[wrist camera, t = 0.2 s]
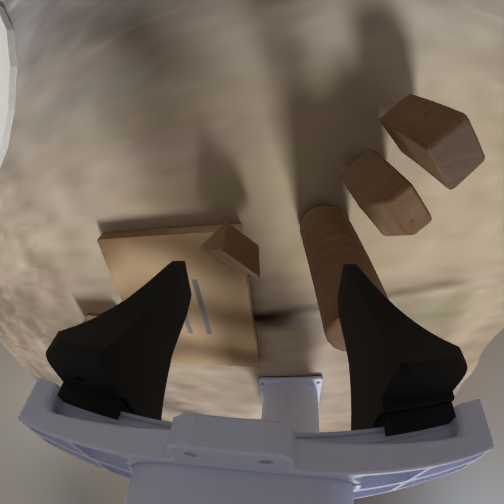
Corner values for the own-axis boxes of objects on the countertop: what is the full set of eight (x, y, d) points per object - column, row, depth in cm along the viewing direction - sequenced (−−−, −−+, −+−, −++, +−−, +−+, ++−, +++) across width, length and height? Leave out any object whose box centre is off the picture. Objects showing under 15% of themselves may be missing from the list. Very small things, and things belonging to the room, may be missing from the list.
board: (259, 357, 32) (258, 366, 31) (155, 352, 34) (152, 360, 33) (241, 223, 23) (239, 230, 22) (103, 233, 25) (97, 239, 24)
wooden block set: (382, 68, 15) (487, 91, 7) (441, 158, 19) (527, 230, 10) (202, 233, 23) (180, 343, 14) (279, 289, 26) (290, 393, 18)
